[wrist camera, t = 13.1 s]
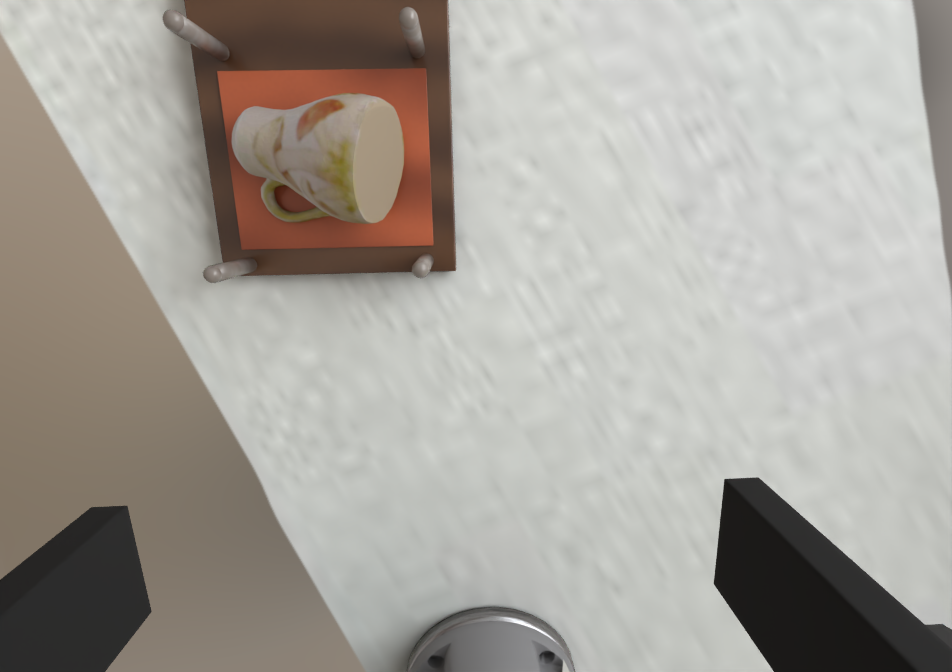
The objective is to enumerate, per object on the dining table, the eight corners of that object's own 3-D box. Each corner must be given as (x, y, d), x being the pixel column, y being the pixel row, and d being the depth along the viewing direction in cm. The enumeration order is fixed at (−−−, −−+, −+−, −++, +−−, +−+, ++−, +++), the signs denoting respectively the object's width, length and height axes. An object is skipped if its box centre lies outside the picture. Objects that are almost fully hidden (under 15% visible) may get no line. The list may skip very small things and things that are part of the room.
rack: (456, 268, 36) (454, 283, 29) (234, 273, 35) (175, 290, 28) (442, -203, 29) (435, -341, 22) (166, -202, 29) (65, -343, 21)
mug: (242, 85, 31) (268, 16, 23) (383, 148, 36) (448, 112, 28) (213, 199, 31) (228, 173, 22) (359, 247, 36) (416, 240, 28)
